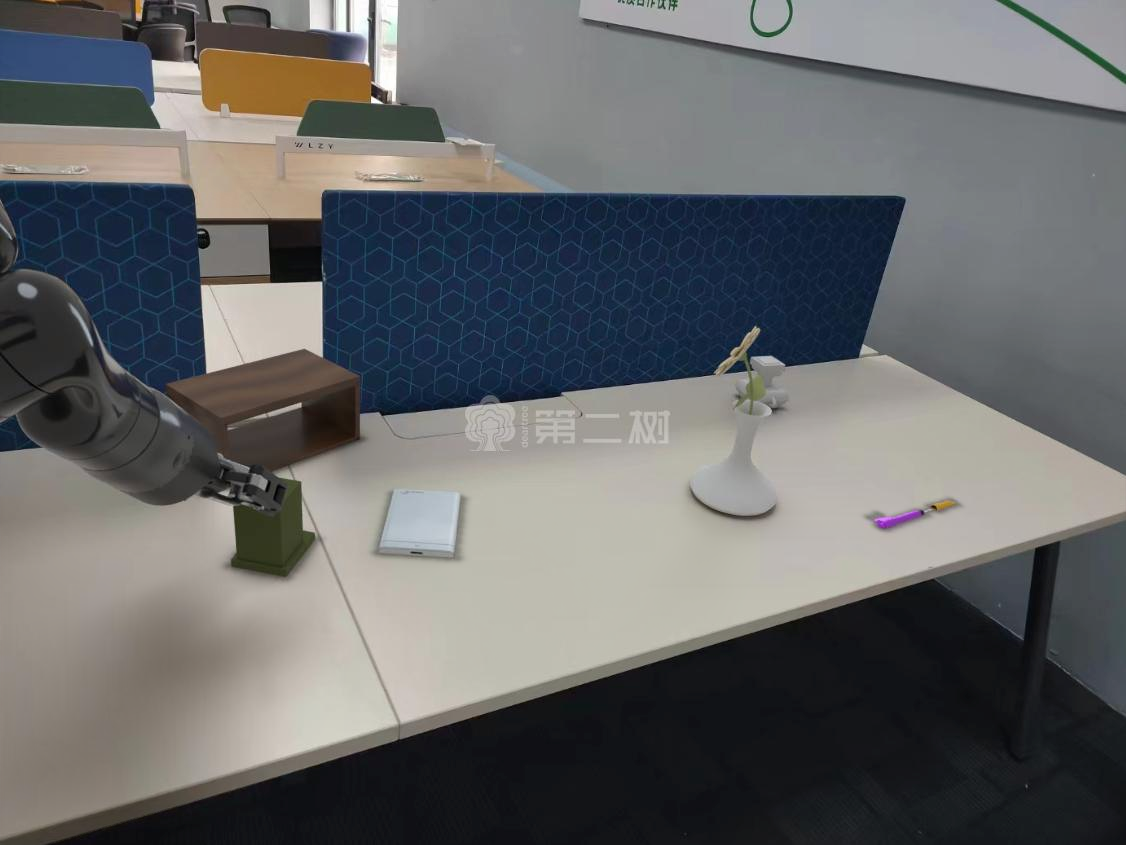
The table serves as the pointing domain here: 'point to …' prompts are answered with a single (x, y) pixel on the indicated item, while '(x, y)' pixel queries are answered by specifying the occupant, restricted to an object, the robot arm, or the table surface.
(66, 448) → the robot arm
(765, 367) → the stamp
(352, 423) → the brown wooden cubby
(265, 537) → the green pedestal block
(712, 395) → the table surface
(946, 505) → the purple and yellow rod
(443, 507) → the hard drive
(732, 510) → the flower in vase
